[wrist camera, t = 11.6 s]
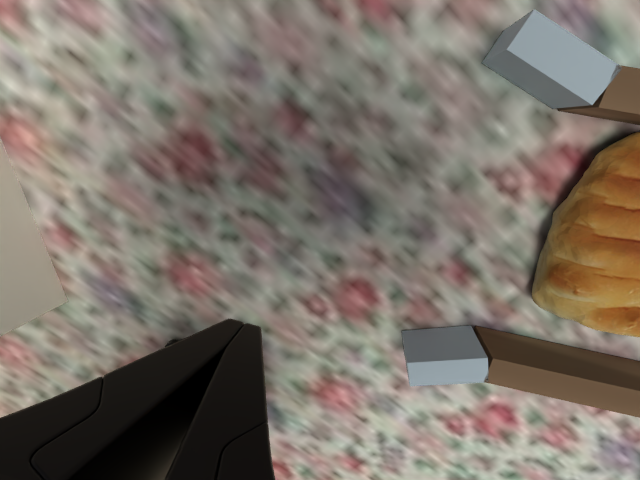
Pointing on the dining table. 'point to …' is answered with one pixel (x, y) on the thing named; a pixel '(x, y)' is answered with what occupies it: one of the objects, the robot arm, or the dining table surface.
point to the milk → (22, 257)
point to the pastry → (597, 246)
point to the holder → (510, 349)
